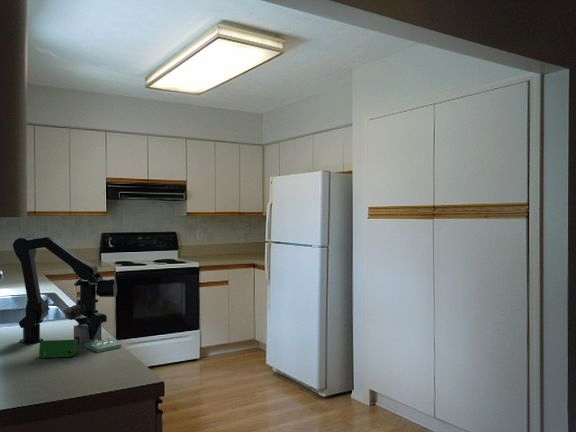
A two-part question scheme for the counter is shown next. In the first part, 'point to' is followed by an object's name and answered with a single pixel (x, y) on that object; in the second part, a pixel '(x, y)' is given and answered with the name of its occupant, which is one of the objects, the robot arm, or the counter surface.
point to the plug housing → (85, 334)
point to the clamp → (57, 348)
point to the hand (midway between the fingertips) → (87, 337)
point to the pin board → (102, 345)
